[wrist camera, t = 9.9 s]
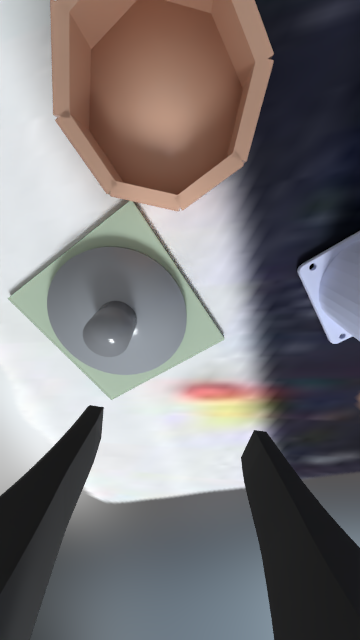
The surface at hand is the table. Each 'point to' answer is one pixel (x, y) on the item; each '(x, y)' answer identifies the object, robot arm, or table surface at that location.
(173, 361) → the mat
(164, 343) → the lid
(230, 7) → the dish
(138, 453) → the table surface
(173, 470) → the table surface
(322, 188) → the table surface
